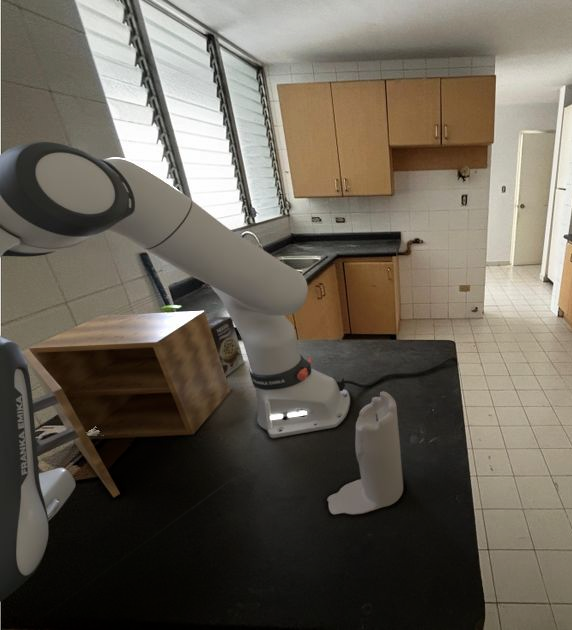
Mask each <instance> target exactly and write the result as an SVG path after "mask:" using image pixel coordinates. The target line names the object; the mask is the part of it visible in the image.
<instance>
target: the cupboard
mask: <svg viewBox="0 0 572 630" xmlns="http://www.w3.org/2000/svg"><path fill="white" fill-rule="evenodd" d="M208 320H209V319H208V316H207V314H206V311H205V310H194V311H193V310H192V311H172V312H168V313H165V312H151V313H150V312H147V313H129V314H127V313H126V314H107V315H105V314H104V315H98V316H96V317H93V318H92V319H89V320H88V321H85V322H83V323H80V324H78V325H76V326H74V327H72V328H70V329H68V330H65V331H63V332H61V333H58V334H57V335H54V336H52V337H50V338H47V339H46V340H43V341H41V342H39V343H36V344H34V345H32V346H30V347H28V350H29V351H30V352H31V353H32V354H33V356H34V357H35V358H36V359H37V360H38V361H39V363H40V364H41V365H42V366H43V367H44V368H45V370H46V371H47V372H48V373H49V374H50V375H51V377H52V378H53V379H54V380H55V381H56V382H57V384H58V385H59V386H60V387H61V388H62V390H63V392H64V393H65V395H66V397H67V399H68V401H69V402H70V404H71V406H72V408H73V410H74V411H75V413H76V415H77V417H78V419H79V420H80V422H81V424H82V426H83V428H84V429H85V431H86V432H88V431H89V430H91V429H93V428H94V427H95V426H96V427H97V428H95V429H96V430H99V431H100V432H99V433H100V434H97V435H100V436H88V437H89V438H90V440H103V439H106V440H107V439H122V438H125V439H126V438H127V439H128V438H145V437H146V438H148V437H169V436H170V437H171V436H188V435H189V436H192V435H194V434H195V433H196V432H197V431H198V430H199V429H200V427H201V426H202V425H203V424H204V423H205V421H206V420H207V419H208V418H209V417H210V416H211V415H212V413H213V412H214V411H215V410H216V409H217V408H218V407H219V406H220V404H221V403H222V402H223V400H225V399H226V397H227V396H228V394H230V393H231V389H230V386H229V382H228V380H227V376H225V373H224V370H223V367H222V364H221V361H220V358H219V354H218V351H217V348H216V345H215V342H214V339H213V336H212V333H211V329H210V326H209V323H208ZM101 435H104V436H101Z"/></svg>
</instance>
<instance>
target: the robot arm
mask: <svg viewBox="0 0 572 630" xmlns="http://www.w3.org/2000/svg"><path fill="white" fill-rule="evenodd" d="M105 231H111V232H113V233H116V234H118V235H121V236H123V237H125V238H126V239H128V240H130V241H131V242H133V243H134V244H136V245H138V246H139V247H141V248H142V249H144V250H146V251H147V252H149V253H151V254H152V255H154V256H156V257H157V258H159V259H161V260H163V261H164V262H166V263H168V264H169V265H171V266H172V267H174V268H176V269H178V270H179V271H181V272H182V273H185V274H186V275H188V276H190V277H192V278H194V279H196V280H198V281H200V282H202V283H205V284H206V285H208V286H210V287H211V290H212V291H214V293H215V294H216V295H217V296H218V298H219V299H220V300H221V302H222V304H223V306H224V307H225V309H226V311H227V314H228V316H229V317H231V319H232V321H233V325H234V327H235V329H236V330H237V332H238V334H239V336H240V338H241V341H242V343H243V347H244V350H245V354H246V357H247V360H248V364H249V369H248V370H249V371H248V372H249V374H250V379H251V382H252V385H253V387H254V388H255V393H256V399H257V418H256V420H257V423H258V425H259V427H261V428H262V429H264V430H266V431H267V434H268V436H269V437H270V438H271V439H277V438H281V437H282V438H283V437H287V436H294V435H300V434H304V433H305V434H306V433H311V432H316V431H322V430H327V429H328V430H329V429H333V428H336V427H338V426H339V425H341V423H342V422H343V421H344V420H345V418H346V417H347V415H348V413H349V411H350V406H351V396H350V393H349V391H348V390H347V389H345V387H346V384H350V385H353V386H356V387H359V388H368V387H372V386H374V385H376V384H377V383H379V382H381V381H382V380H384V379H386V378H390V377H394V376H395V377H397V376H415V375H421V374H424V373H427V372H430V371H432V370H434V369H436V368H439V367H442V366H443V365H444V364H446V363H447V362H449V361H450V360H452V361H453V360H454V361H457V358H456V357H454V356H450V357H448V358H447V357H446V358H445V359H444V360H443V361H441V362H440V363H438V364H435V365H433V366H430V367H428V368H426V369H422V370H418V371H414V372H394V373H388V374H385V375H383V376H380V377H379V378H377V379H376V380H374V381H372V382H370V383H366V384H364V383H358V382H357V381H356V382H355V381H353V380H345V377H335V376H329V375H327V374H325V373H322V372H321V371H318V370H316V369H314V368H312V367H311V364H312V363H313V362H312V357H311V356H310V357H309V358H308V360H307V359H305V358H304V356H303V355H302V354H301V352H300V347H299V343H298V342H299V341H298V338H297V337H298V336H297V332H296V329H295V326H294V325H293V323H292V322H291V321H290V320H289V319H288V318H287V316H290V315H293V314H295V313H297V312H299V310H300V309H302V308H303V306H304V305H305V304H306V301H307V299H308V293H309V287H308V281H307V279H306V277H305V276H304V274H303V273H302V272H301V271H299V270H297V269H295V268H294V267H292V266H290V265H288V264H286V263H284V262H283V261H281V260H280V259H278V258H276V257H275V256H273V255H272V254H270V253H269V252H267V251H266V250H264V249H262V248H261V247H259V246H257V245H256V244H254V243H252V242H251V241H249V240H247V239H246V238H245V237H243V236H241V235H239V234H238V233H236V232H234V231H233V230H231V229H230V228H228V227H227V226H226V225H225V224H223V223H222V222H221V221H220V220H218V219H216V218H215V217H214V216H213V215H211V214H210V213H209V212H208V211H206V210H205V209H204V208H203V207H201V206H200V205H199V204H197V202H195V201H194V200H192V199H191V198H190V197H189V196H187V195H186V194H184V193H183V192H182V191H181V190H179V189H178V188H176V187H175V186H173V185H172V184H170V183H169V182H168V181H166V180H164V179H163V178H161V177H160V176H158V175H157V174H154V173H153V172H151V171H150V170H148V169H147V168H145V167H143V166H141V165H140V164H138V163H136V162H134V161H132V160H129V159H126V158H123V157H109V158H104V159H100V158H98V157H96V156H95V155H92V154H90V153H88V152H87V151H85V150H82V149H79V148H76V147H73V146H71V145H68V144H63V143H58V142H51V141H34V142H27V143H22V144H18V145H15V146H12V147H10V148H8V149H6V150H5V151H3V152H2V153H1V154H0V258H2V257H22V258H23V257H27V258H29V257H40V256H45V255H49V254H52V253H55V252H58V251H62V250H66V249H69V248H72V247H75V246H78V245H80V244H82V243H84V242H85V241H87V240H88V239H89V238H91V237H93V236H95V235H98V234H100V233H103V232H105ZM22 351H23V350H22V348H21V346H19V345H18V344H17V343H15V342H14V341H11V340H9V339H6V338H5V337H2V335H0V603H1V602H2V601H4V600H6V599H7V598H8V597H9V596H10V595H12V594H13V593H14V592H16V591H17V590H18V589H19V588H20V587H21V586H23V585H24V584H25V583H26V581H28V580H29V579H30V578H31V577H32V576H33V575H34V574H35V573H36V572H37V570H38V569H39V567H40V565H41V563H42V560H43V559H44V556H45V552H46V548H47V545H48V540H49V521H50V520H52V518H53V517H54V516H55V515H56V514H57V513H58V512H59V511H60V510H61V508H62V507H63V506H64V504H65V503H66V502H67V501H68V499H69V497H70V496H71V495H72V493H73V491H74V490H75V488H76V481H75V479H74V477H73V474H71V472H70V471H69V470H67V468H65V467H58V468H53V469H51V470H47V471H44V472H40V473H39V461H38V456H37V446H36V440H37V435H36V423H35V422H36V421H35V413H34V410H33V392H32V391H33V390H32V384H31V377H30V371H29V365H28V362H27V361H26V359H25V356H24V354H23V352H22Z"/></svg>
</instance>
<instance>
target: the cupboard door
mask: <svg viewBox="0 0 572 630" xmlns="http://www.w3.org/2000/svg"><path fill="white" fill-rule="evenodd" d="M22 352H23V354H24V356H25V359H26V362H27V365H28V367H29V368H30V369H31V371H32V373H33V374H34V376H35V378H36V379H37V381H38V383H39V385H40V386H41V388H42V390H43V391H44V393H45V395H41V396H39V397H35V398H34V399H33V398H32V399H33V410H34V414H35V413H37V412H40V411H42V410H45V409H47V408H49V407H53V409H54V411H55V412H56V414H57V416H58V417H59V419H60V421H61V422H62V424H63V426H64V427H65V429H64V430H62V431H60V432H58V433H56V434H53V435H51V436H49V437H47V438H44V439H42V440H40V441H38V440H37V439H36V446H37V457H39V456H42V455H44V454H46V453H48V452H50V451H52V450H54V449H57V448H59V447H61V446H63V445H65V444H67V443H69V442H71V441H72V442H73V443H74V442H75V443H74V444H75V446H76V447H77V446H78V447H77V449H78V450H79V452H80V453H81V454H82V455H83V457H84V458H85V460H86V461H87V464H89V465H90V467H91V468H92V470H93V471H94V472H95V474H96V475H97V476H98V478H99V480H100V481H101V482H102V484H103V486H105V488H106V489H107V491H108V492H109V494H110V495H111V496H112V498H116V497H118V496H119V495H120V494H121V493H120V490H119V489H118V487H117V485H116V483H115V482H114V479H113V478H112V477H111V475H110V473H109V471H108V469H107V467H106V466H105V463H104V462H103V460H102V458H101V456H100V454H99V452H98V450H97V449H96V447H95V446H94V443H93V442H92V439H90V438H89V437H88V435H87V433H86V431H85V429H84V428H83V426H82V424H81V422H80V420H79V419H78V417H77V415H76V413H75V411H74V410H73V408H72V406H71V404H70V402H69V401H68V399H67V397H66V395H65V393H64V392H63V390H62V388H61V387H60V386H59V385H58V384H57V382H56V381H55V380H54V379H53V378H52V377H51V375H50V374H49V373H48V372H47V371H46V370H45V368H44V367H43V366H42V365H41V364H40V363H39V361H38V360H37V359H36V358H35V357H34V356H33V354H32V353H31V351H30V350H29V349H25V350H22Z"/></svg>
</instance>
